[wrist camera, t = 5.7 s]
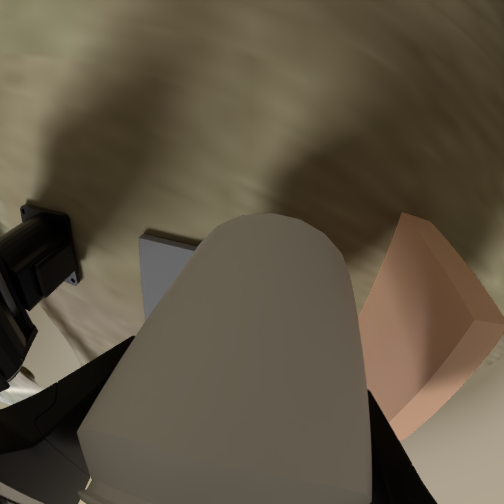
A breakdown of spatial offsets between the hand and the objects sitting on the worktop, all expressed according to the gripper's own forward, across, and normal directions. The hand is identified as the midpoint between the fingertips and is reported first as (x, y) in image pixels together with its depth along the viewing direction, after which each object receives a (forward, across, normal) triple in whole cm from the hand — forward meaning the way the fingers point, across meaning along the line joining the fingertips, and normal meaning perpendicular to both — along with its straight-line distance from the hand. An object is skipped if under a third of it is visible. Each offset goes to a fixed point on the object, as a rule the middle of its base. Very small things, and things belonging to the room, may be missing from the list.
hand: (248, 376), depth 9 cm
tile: (+9, -7, 0) cm, 12 cm away
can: (+6, 0, 0) cm, 6 cm away
